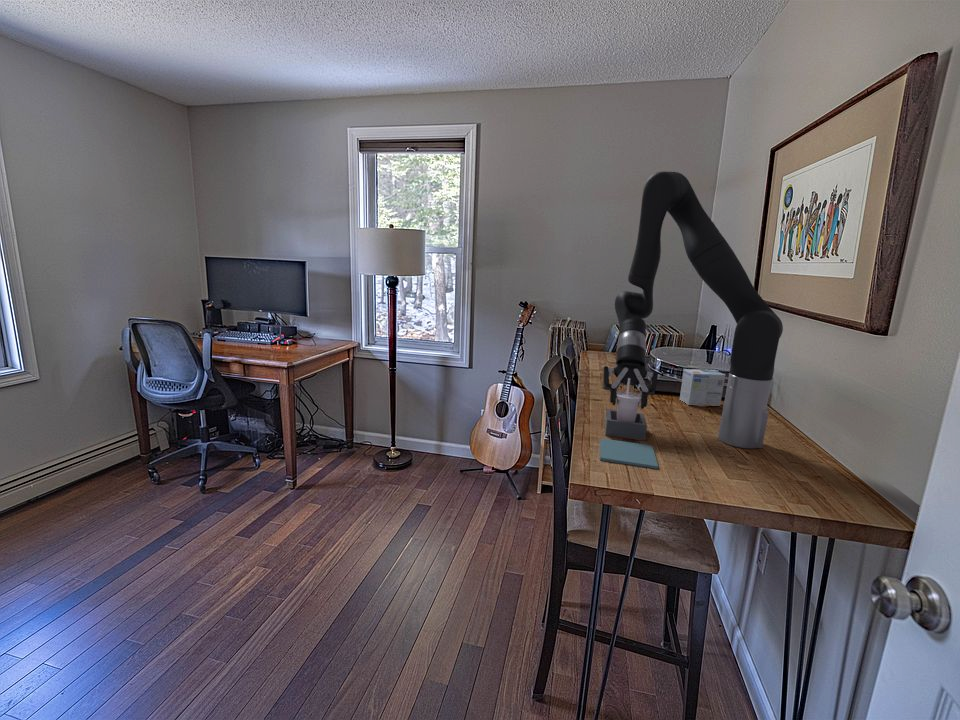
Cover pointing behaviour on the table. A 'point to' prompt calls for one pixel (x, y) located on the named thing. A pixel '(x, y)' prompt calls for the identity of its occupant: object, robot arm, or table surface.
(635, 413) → the smoothie
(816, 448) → the table surface
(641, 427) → the frame
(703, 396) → the light bulb box
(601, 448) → the coaster
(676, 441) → the table surface
